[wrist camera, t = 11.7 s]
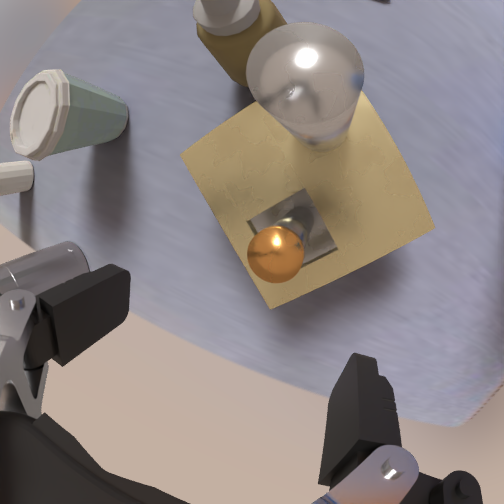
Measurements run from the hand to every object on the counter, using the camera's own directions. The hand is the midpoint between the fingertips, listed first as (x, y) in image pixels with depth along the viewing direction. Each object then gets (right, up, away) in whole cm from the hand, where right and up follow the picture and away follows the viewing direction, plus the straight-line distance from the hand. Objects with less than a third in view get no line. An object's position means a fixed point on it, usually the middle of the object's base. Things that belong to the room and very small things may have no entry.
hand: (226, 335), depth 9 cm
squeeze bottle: (+3, +24, +18) cm, 30 cm away
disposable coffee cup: (-18, +21, +25) cm, 38 cm away
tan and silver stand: (+7, +10, +21) cm, 24 cm away
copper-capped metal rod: (+6, +6, +21) cm, 23 cm away
